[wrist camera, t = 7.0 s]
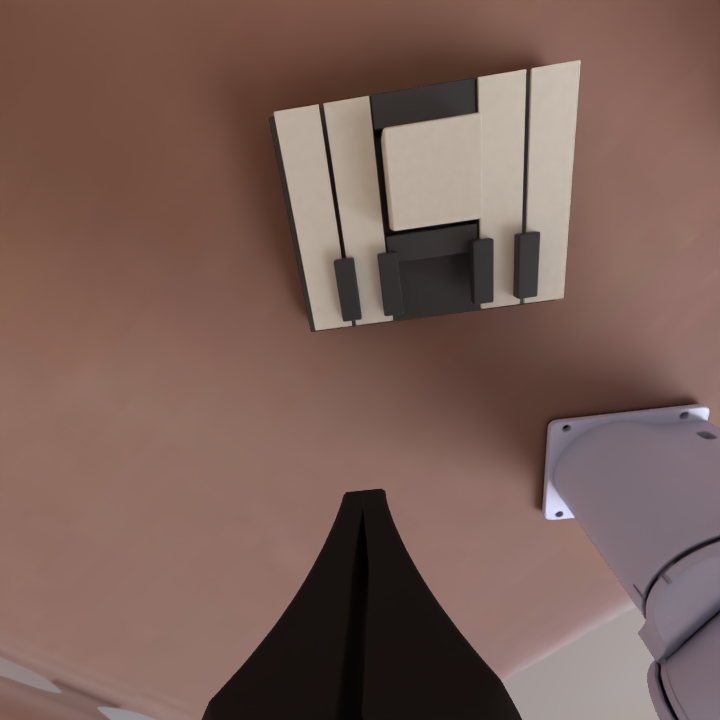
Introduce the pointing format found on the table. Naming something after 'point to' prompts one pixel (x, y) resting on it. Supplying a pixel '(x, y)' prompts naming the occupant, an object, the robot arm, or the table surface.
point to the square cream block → (433, 171)
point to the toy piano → (424, 244)
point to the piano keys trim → (500, 199)
